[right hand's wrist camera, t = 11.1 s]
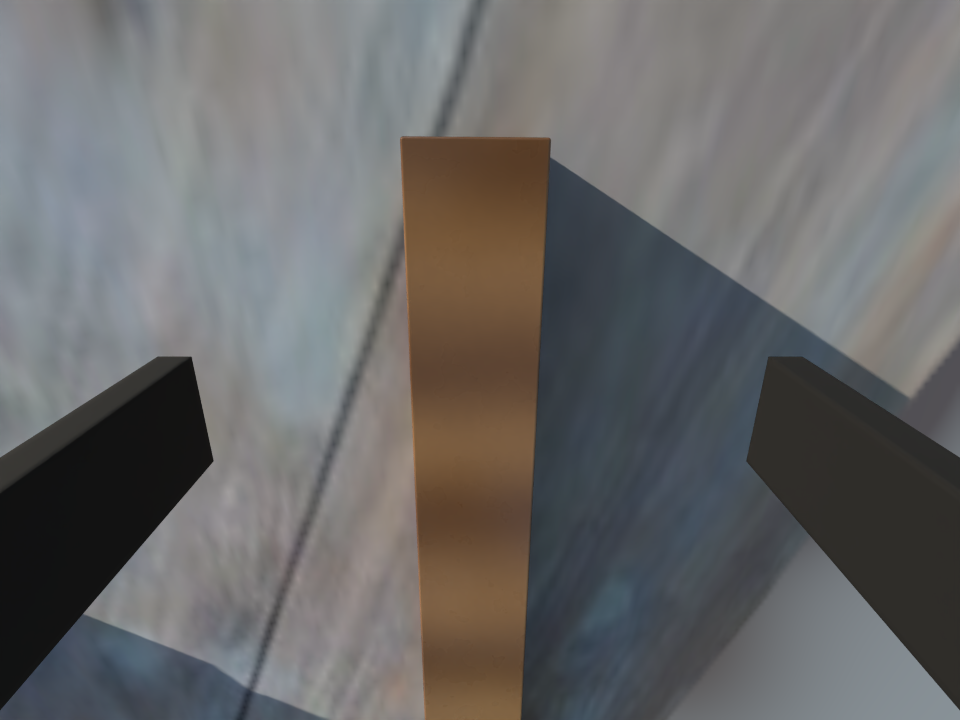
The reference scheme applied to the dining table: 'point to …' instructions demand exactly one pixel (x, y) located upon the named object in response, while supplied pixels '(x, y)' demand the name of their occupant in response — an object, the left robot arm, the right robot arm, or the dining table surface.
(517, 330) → the beam
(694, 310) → the dining table surface
